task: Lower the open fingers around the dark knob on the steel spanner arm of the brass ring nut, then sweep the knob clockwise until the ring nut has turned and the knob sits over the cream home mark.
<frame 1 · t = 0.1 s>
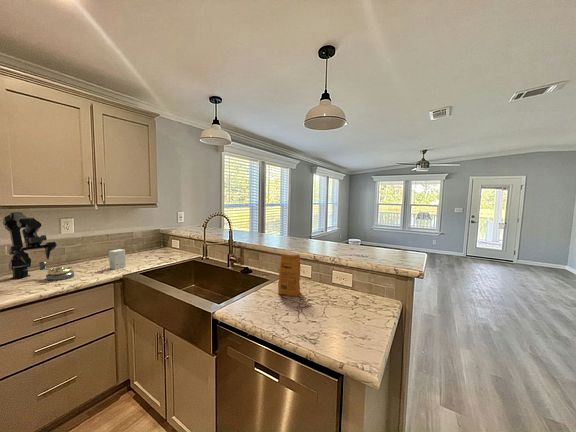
hand: (37, 260, 139), 15 cm above the worktop, tool tilted 30°, fingers open, 9 cm apart
coffee package: (289, 293, 135), on the worktop
housing: (60, 277, 155), on the worktop
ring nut: (54, 267, 154), point 7 cm above the worktop, hinge at 0.0°
small box: (117, 267, 179), on the worktop
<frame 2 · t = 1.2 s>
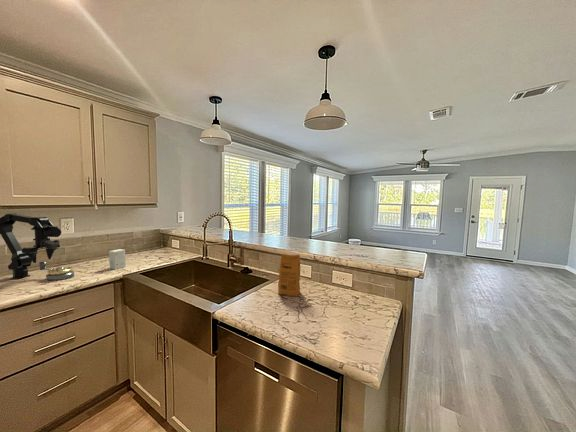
hand: (42, 260, 154), 11 cm above the worktop, tool pointing down, fingers open, 9 cm apart
nothing on the worktop moved.
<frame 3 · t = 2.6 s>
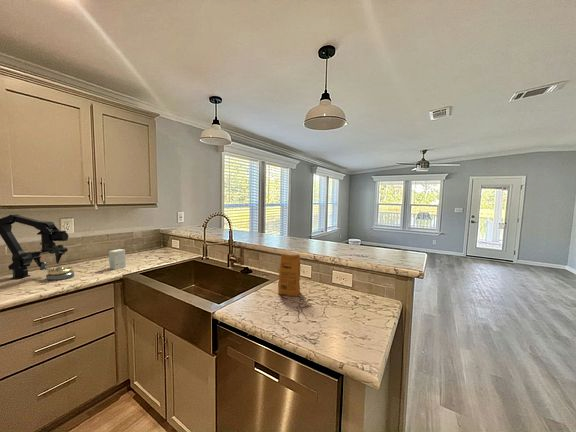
hand: (48, 264, 157), 8 cm above the worktop, tool pointing down, fingers open, 9 cm apart
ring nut: (54, 267, 154), point 7 cm above the worktop, hinge at -0.2°, touching gripper
everything else where it was.
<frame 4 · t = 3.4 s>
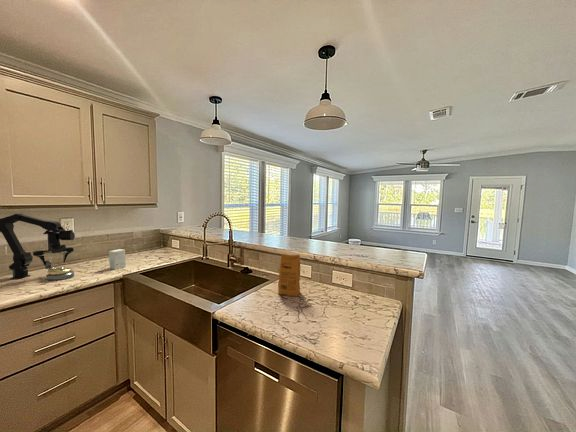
hand: (54, 264, 160), 7 cm above the worktop, tool pointing down, fingers open, 9 cm apart
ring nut: (56, 267, 155), point 7 cm above the worktop, hinge at -15.6°, touching gripper
everything else where it was.
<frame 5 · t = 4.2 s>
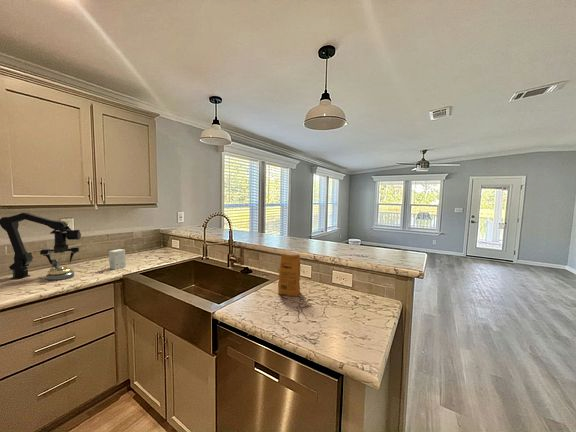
hand: (60, 263, 162), 7 cm above the worktop, tool pointing down, fingers open, 9 cm apart
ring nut: (58, 266, 156), point 7 cm above the worktop, hinge at -32.6°, touching gripper
everything else where it was.
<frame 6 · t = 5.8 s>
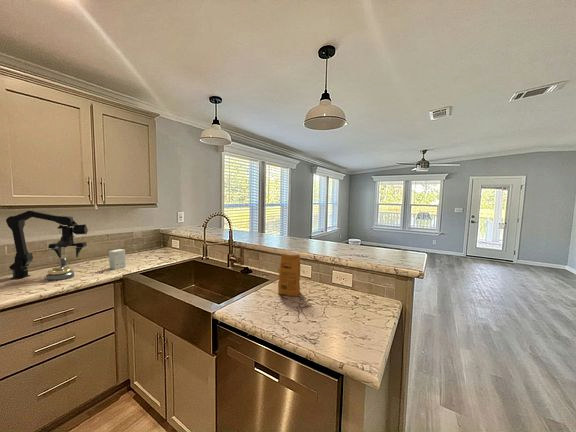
hand: (68, 257, 164), 11 cm above the worktop, tool pointing down, fingers open, 9 cm apart
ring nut: (61, 266, 157), point 7 cm above the worktop, hinge at -55.1°
everything else where it was.
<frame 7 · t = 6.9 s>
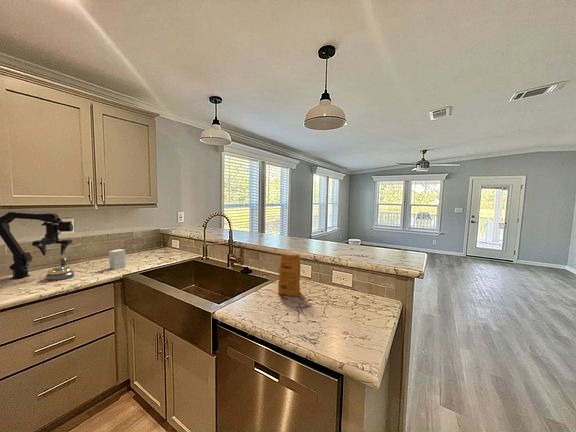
hand: (53, 255, 161), 13 cm above the worktop, tool pointing down, fingers open, 9 cm apart
nothing on the worktop moved.
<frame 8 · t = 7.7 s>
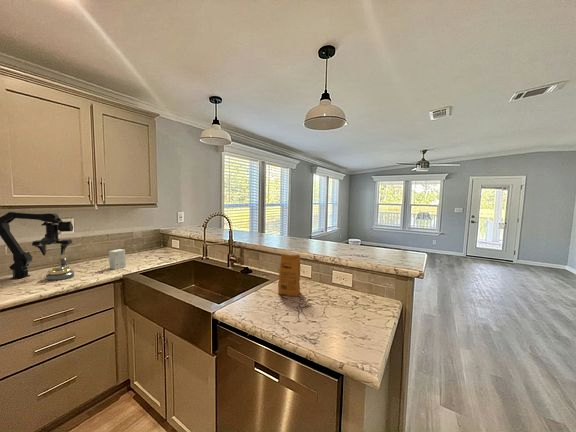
hand: (53, 255, 161), 13 cm above the worktop, tool pointing down, fingers open, 9 cm apart
nothing on the worktop moved.
at the end: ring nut at -55° (first picture: +0°); the gripper is holding nothing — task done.
